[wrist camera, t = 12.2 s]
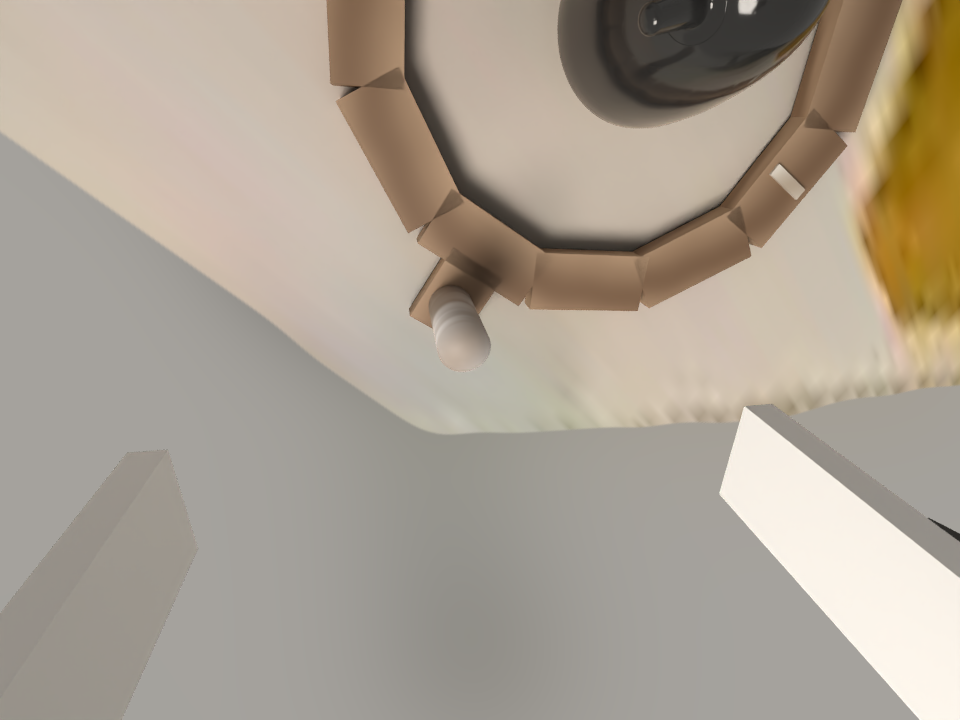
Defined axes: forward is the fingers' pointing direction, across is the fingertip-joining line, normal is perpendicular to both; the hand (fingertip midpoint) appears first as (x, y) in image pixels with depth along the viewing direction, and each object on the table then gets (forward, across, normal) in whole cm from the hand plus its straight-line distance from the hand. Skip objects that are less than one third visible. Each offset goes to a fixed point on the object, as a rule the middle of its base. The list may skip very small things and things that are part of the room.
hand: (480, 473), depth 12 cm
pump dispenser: (+25, +12, +12) cm, 30 cm away
